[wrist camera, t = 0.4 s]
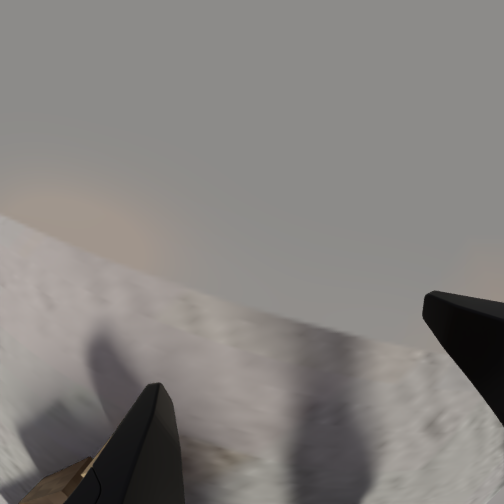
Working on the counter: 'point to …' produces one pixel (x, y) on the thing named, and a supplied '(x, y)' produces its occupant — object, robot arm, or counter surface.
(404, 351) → the counter surface
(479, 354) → the robot arm
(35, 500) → the wooden block stand
